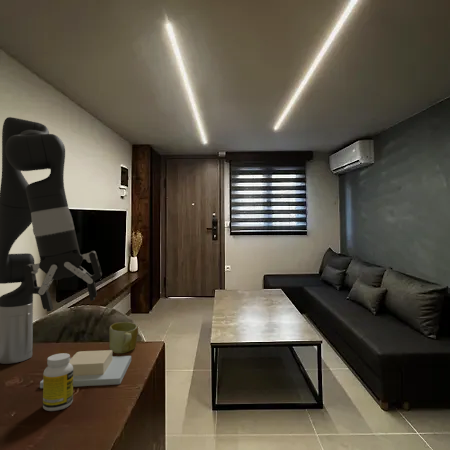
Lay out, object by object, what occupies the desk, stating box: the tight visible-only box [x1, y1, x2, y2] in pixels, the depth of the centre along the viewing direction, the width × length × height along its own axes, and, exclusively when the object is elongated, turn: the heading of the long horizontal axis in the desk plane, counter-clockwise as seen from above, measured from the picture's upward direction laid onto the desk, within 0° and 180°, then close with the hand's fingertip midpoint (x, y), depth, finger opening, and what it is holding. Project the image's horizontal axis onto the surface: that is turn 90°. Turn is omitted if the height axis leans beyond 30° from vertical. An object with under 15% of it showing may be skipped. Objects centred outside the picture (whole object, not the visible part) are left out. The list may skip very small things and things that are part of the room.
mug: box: [108, 321, 139, 354], centre depth 110 cm, size 12×10×10 cm
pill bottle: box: [42, 352, 74, 412], centre depth 75 cm, size 6×6×11 cm
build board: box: [39, 349, 132, 389], centre depth 92 cm, size 20×16×4 cm
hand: (71, 304), depth 70 cm, fingers open, 8 cm apart
